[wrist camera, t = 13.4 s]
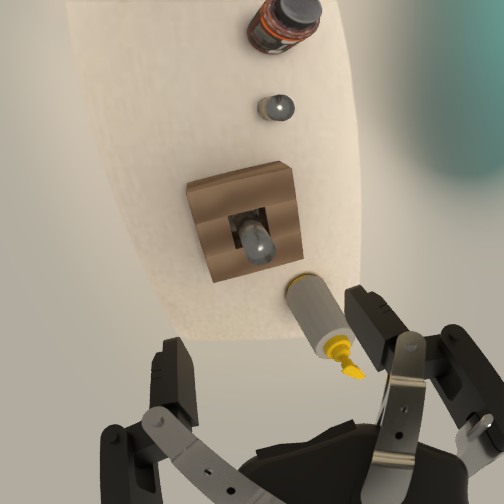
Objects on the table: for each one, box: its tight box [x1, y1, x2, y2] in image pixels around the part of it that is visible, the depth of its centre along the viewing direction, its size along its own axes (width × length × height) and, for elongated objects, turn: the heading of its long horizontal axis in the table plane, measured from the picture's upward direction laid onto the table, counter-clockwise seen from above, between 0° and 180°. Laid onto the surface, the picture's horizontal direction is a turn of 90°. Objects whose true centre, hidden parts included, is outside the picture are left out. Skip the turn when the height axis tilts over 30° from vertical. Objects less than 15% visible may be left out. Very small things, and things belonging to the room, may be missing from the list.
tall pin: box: [232, 210, 276, 265], centre depth 33 cm, size 3×3×11 cm
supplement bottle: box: [248, 0, 322, 54], centre depth 22 cm, size 6×6×11 cm
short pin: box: [258, 95, 295, 121], centre depth 30 cm, size 3×3×5 cm
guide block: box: [186, 161, 304, 283], centre depth 36 cm, size 12×12×5 cm
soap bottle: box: [286, 275, 366, 379], centre depth 38 cm, size 7×7×18 cm
